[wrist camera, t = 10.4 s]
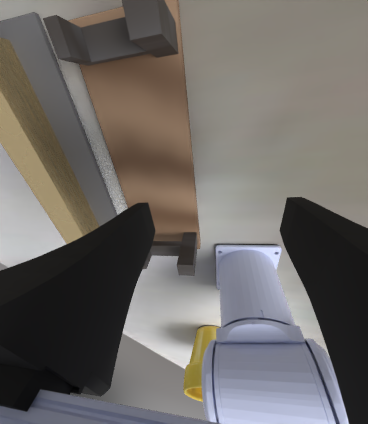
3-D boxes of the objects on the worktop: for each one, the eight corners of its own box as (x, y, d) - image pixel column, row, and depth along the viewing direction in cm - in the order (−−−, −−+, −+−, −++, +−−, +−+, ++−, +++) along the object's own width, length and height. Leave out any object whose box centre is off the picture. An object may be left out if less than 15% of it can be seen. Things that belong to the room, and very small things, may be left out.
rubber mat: (130, 247, 26) (129, 249, 26) (77, 246, 28) (75, 248, 27) (38, 14, 13) (33, 12, 13) (-52, 38, 15) (-58, 37, 14)
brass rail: (108, 244, 26) (97, 260, 23) (90, 244, 26) (77, 260, 24) (9, 39, 14) (-35, 28, 11) (-20, 47, 14) (-69, 37, 12)
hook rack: (200, 243, 24) (197, 282, 19) (144, 242, 25) (127, 279, 20) (178, 0, 12) (153, -69, 7) (73, 26, 13) (-11, -16, 8)
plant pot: (248, 336, 36) (259, 405, 28) (212, 346, 41) (212, 407, 33) (214, 315, 33) (214, 385, 25) (179, 328, 39) (170, 390, 31)
